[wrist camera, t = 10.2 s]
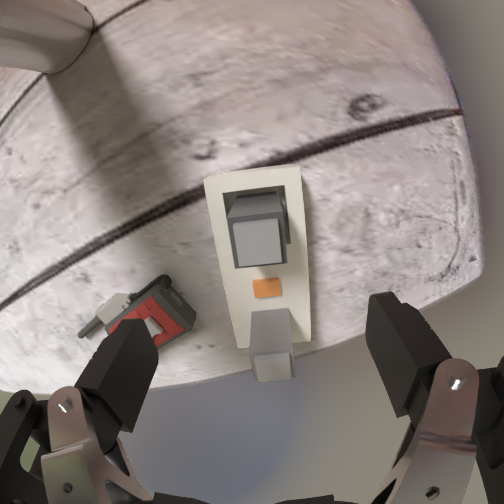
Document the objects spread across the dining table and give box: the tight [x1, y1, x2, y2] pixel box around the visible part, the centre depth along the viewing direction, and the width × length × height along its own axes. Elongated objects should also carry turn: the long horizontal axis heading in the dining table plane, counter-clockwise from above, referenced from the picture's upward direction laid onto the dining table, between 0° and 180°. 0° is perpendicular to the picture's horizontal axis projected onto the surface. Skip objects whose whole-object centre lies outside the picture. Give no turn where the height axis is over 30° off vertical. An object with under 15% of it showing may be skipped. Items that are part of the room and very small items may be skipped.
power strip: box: [203, 164, 311, 382], centre depth 23 cm, size 18×8×10 cm, turn 8°
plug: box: [227, 191, 288, 269], centre depth 21 cm, size 4×4×9 cm
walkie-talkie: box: [78, 274, 196, 350], centre depth 30 cm, size 9×4×20 cm
